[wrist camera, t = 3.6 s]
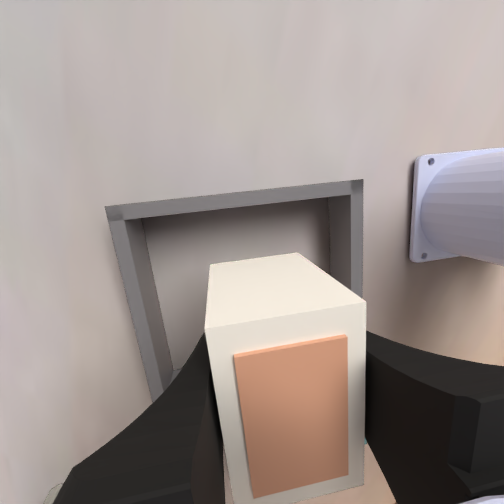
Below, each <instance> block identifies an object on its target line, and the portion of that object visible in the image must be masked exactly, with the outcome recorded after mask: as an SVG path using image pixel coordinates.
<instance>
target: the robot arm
mask: <svg viewBox="0 0 504 504" xmlns="http://www.w3.org/2000/svg"><path fill="white" fill-rule="evenodd" d="M428 160H430V164H428ZM422 254H423V256H422ZM421 256H422V257H421ZM459 256H465V257H469V258H473V259H477V260H481V261H485V262H489V263H493V264H497V265H501V266H504V147H503V148H493V149H483V150H472V151H462V152H452V153H441V154H431V155H423V156H419V157H418V158H417V159H416V161H415V168H414V185H413V203H412V220H411V237H410V255H409V257H410V260H411V261H412V262H415V263H419V262H426V261H433V260H439V259H446V258H452V257H459ZM365 439H366V441H367V443H368V444H369V446H370V448H371V450H372V452H373V454H374V456H375V458H376V460H377V462H378V464H379V466H380V468H381V470H382V472H383V474H384V476H385V478H386V481H387V483H388V485H389V487H390V489H391V491H392V493H393V495H394V497H395V500H396V502H397V504H504V366H497V365H489V364H482V363H477V362H471V361H466V360H461V359H456V358H451V357H446V356H442V355H438V354H434V353H430V352H426V351H422V350H419V349H415V348H412V347H409V346H406V345H403V344H400V343H397V342H394V341H391V340H388V339H386V338H383V337H381V336H378V335H376V334H373V333H371V332H369V331H366V370H365ZM53 504H225V488H224V466H223V436H222V430H221V424H220V418H219V412H218V406H217V400H216V394H215V388H214V382H213V376H212V370H211V364H210V358H209V352H208V347H207V341H206V335H205V333H204V334H203V335H202V337H201V338H200V340H199V342H198V344H197V346H196V348H195V349H194V351H193V353H192V354H191V356H190V357H189V359H188V360H187V362H186V364H185V365H184V366H183V368H182V369H181V371H180V372H179V373H178V375H177V376H176V377H175V379H174V380H173V381H172V383H171V384H170V385H169V386H168V387H167V389H166V390H165V391H164V392H163V393H162V394H161V395H160V396H159V398H158V399H157V400H156V401H154V402H153V403H152V404H151V405H150V406H149V407H148V408H147V409H146V410H145V411H144V412H143V413H142V414H141V415H140V416H139V417H138V418H137V419H136V420H135V421H133V422H132V423H131V424H130V425H129V426H128V427H127V428H125V429H124V430H123V431H122V432H120V433H119V434H118V435H117V436H116V437H114V438H113V439H112V440H111V441H109V442H108V443H107V444H105V445H104V446H103V447H101V448H100V449H98V450H97V451H96V452H94V453H93V454H92V455H90V456H89V457H88V458H86V459H85V460H83V461H82V462H81V463H79V464H78V465H76V466H75V467H73V469H72V470H71V472H70V474H69V475H68V477H67V479H66V480H65V482H64V484H63V485H62V487H61V489H60V490H59V492H58V494H57V496H56V498H55V500H54V502H53Z"/></svg>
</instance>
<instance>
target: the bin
mask: <svg viewBox="0 0 504 504" xmlns="http://www.w3.org/2000/svg"><path fill="white" fill-rule="evenodd" d="M323 197H329V235H330V275H331V277H333V278H334V279H335V280H337V281H338V282H340V283H341V284H342V285H344V286H345V287H347V288H348V289H349V290H351V291H352V292H353V293H355V294H356V295H358V296H359V297H360V298H362V275H363V179H361V180H351V181H341V182H331V183H321V184H312V185H303V186H293V187H284V188H274V189H265V190H255V191H246V192H236V193H227V194H217V195H208V196H198V197H189V198H179V199H170V200H160V201H151V202H141V203H132V204H123V205H114V206H105V210H106V214H107V218H108V222H109V227H110V231H111V235H112V239H113V243H114V247H115V251H116V255H117V259H118V263H119V267H120V271H121V275H122V279H123V284H124V288H125V292H126V296H127V300H128V304H129V308H130V312H131V316H132V320H133V324H134V328H135V332H136V336H137V341H138V345H139V349H140V353H141V357H142V361H143V365H144V369H145V373H146V377H147V381H148V385H149V389H150V393H151V398H152V402H154V401H156V400H157V399H158V398H159V396H160V395H161V394H162V393H163V392H164V391H165V390H166V389H167V387H168V386H169V385H170V384H171V383H172V381H173V380H174V379H175V377H176V376H177V375H178V373H179V372H180V371H181V369H178V370H173V366H172V362H171V357H170V352H169V348H168V343H167V338H166V333H165V329H164V324H163V319H162V315H161V310H160V305H159V300H158V296H157V291H156V286H155V282H154V277H153V272H152V268H151V263H150V258H149V253H148V249H147V244H146V239H145V235H144V230H143V225H142V220H141V218H145V217H154V216H163V215H172V214H181V213H190V212H199V211H208V210H216V209H225V208H234V207H243V206H252V205H261V204H270V203H279V202H288V201H296V200H305V199H314V198H323Z"/></svg>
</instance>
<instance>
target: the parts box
mask: <svg viewBox="0 0 504 504" xmlns="http://www.w3.org/2000/svg"><path fill="white" fill-rule="evenodd" d="M205 335H206V341H207V347H208V352H209V358H210V364H211V370H212V376H213V382H214V388H215V394H216V400H217V406H218V412H219V418H220V424H221V430H222V436H223V442H224V448H225V454H226V460H227V466H228V472H229V478H230V484H231V490H232V496H233V502H234V504H292V503H296V502H300V501H303V500H307V499H311V498H315V497H319V496H323V495H327V494H331V493H335V492H338V491H342V490H346V489H350V488H354V487H358V486H362V485H364V441H365V370H366V301H365V300H363V299H362V298H360V297H359V296H358V295H356V294H355V293H353V292H352V291H351V290H349V289H348V288H347V287H345V286H344V285H342V284H341V283H340V282H338V281H337V280H335V279H334V278H333V277H331V276H330V275H328V274H327V273H326V272H324V271H323V270H321V269H320V268H319V267H317V266H316V265H315V264H313V263H312V262H310V261H309V260H308V259H306V258H305V257H303V256H302V255H301V254H299V253H298V252H297V253H289V254H282V255H275V256H268V257H260V258H253V259H246V260H238V261H231V262H224V263H217V264H210V270H209V282H208V294H207V306H206V317H205Z"/></svg>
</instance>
